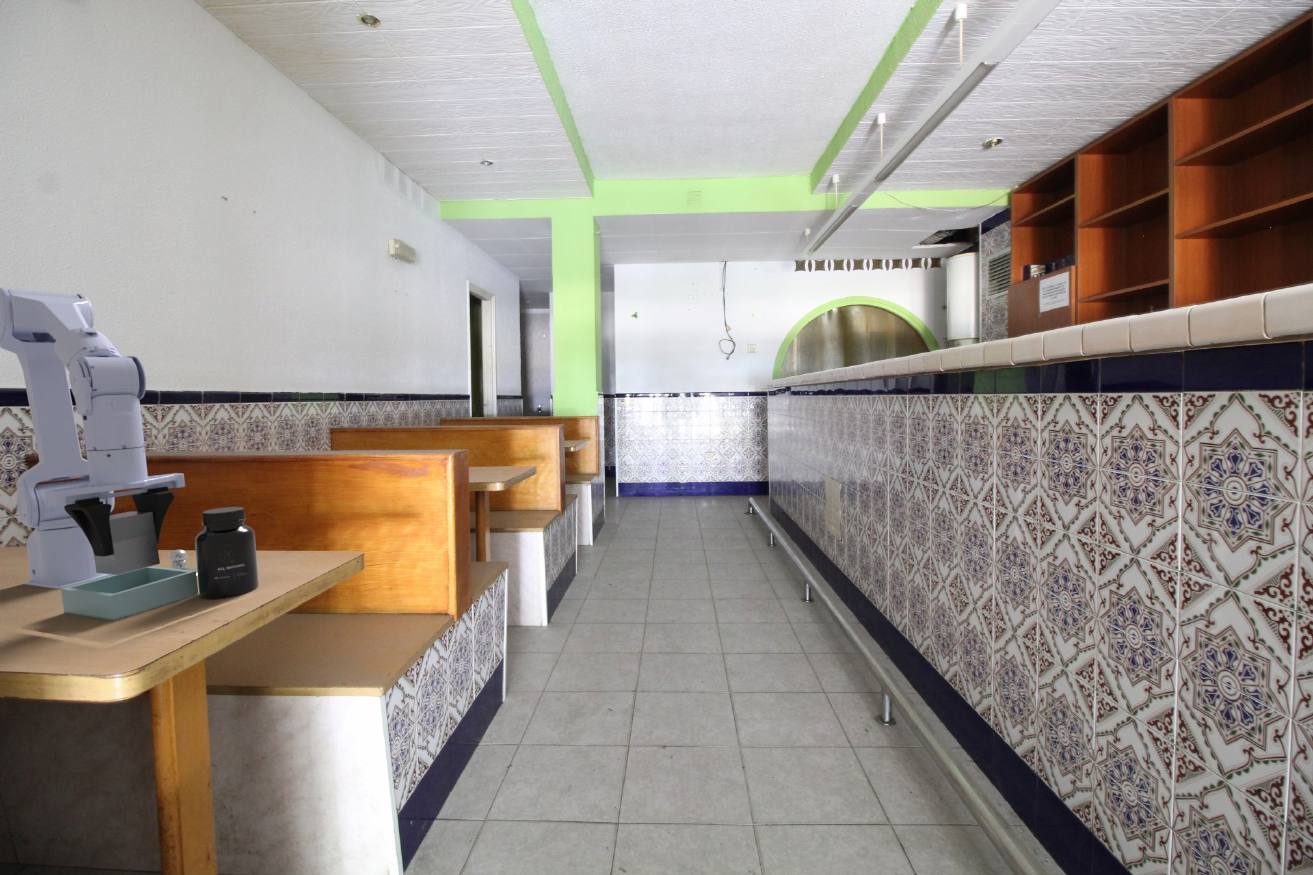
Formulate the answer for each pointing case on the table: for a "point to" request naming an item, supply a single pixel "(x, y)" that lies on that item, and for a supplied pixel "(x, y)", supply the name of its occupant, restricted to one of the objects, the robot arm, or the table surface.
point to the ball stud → (180, 560)
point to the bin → (129, 593)
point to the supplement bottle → (226, 555)
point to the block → (129, 544)
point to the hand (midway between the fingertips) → (127, 549)
